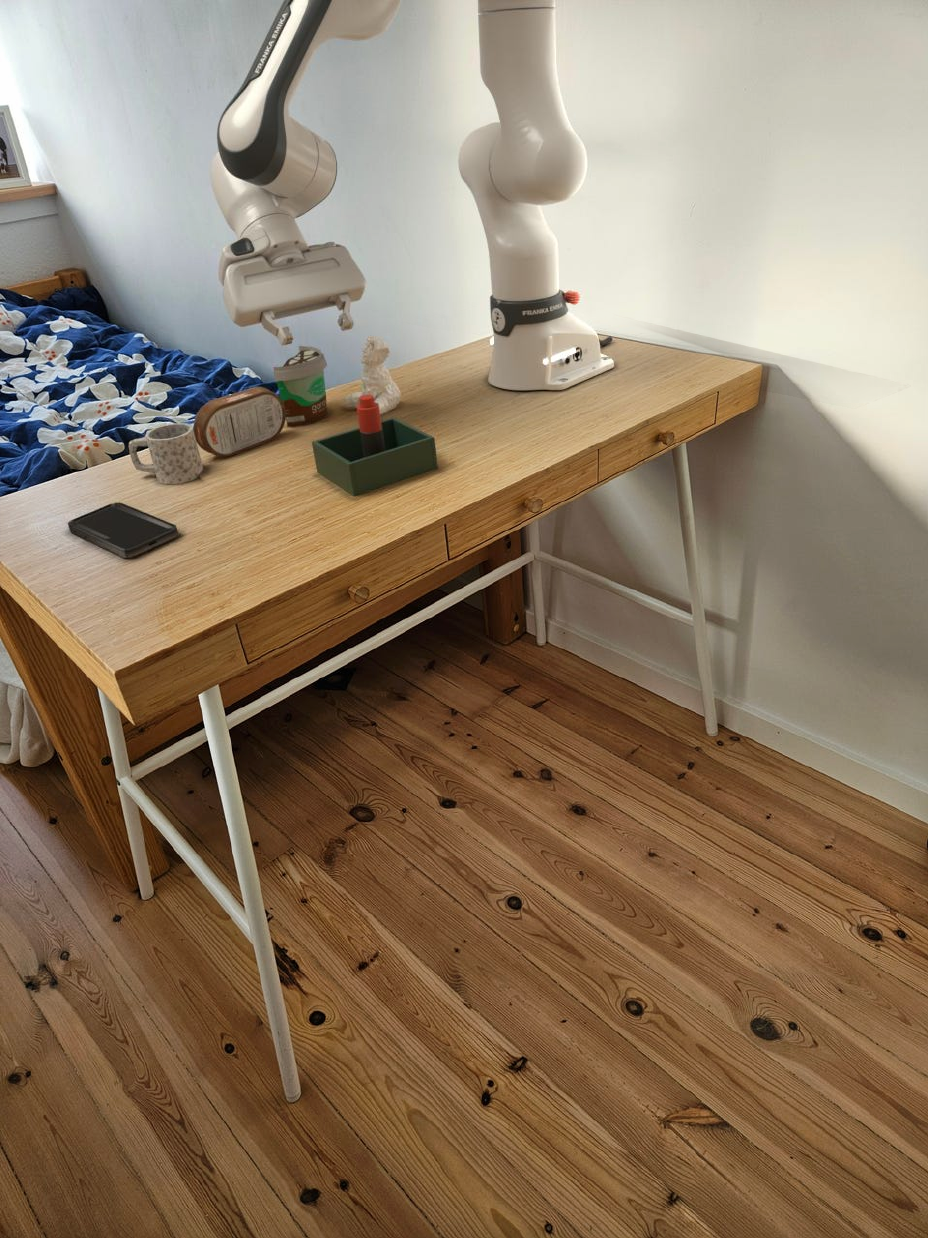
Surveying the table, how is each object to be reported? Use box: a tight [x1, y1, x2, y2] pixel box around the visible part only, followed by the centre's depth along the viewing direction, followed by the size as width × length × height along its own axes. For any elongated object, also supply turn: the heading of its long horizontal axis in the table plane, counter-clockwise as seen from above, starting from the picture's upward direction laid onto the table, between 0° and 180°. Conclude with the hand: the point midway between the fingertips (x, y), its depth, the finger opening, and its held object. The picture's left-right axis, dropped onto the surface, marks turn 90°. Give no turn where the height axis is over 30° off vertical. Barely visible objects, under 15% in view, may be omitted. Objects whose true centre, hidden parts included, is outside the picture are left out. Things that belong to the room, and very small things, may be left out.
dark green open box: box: [311, 416, 439, 497], centre depth 124 cm, size 13×11×5 cm
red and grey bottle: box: [356, 395, 385, 458], centre depth 122 cm, size 3×3×10 cm
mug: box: [128, 422, 204, 485], centre depth 129 cm, size 10×7×7 cm, turn 86°
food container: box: [272, 345, 328, 428], centre depth 145 cm, size 12×6×10 cm, turn 168°
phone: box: [67, 501, 180, 559], centre depth 115 cm, size 8×1×15 cm
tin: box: [193, 386, 286, 458], centre depth 136 cm, size 15×3×8 cm, turn 134°
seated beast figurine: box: [344, 335, 402, 416], centre depth 145 cm, size 10×9×12 cm
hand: (318, 334), depth 125 cm, fingers open, 8 cm apart
